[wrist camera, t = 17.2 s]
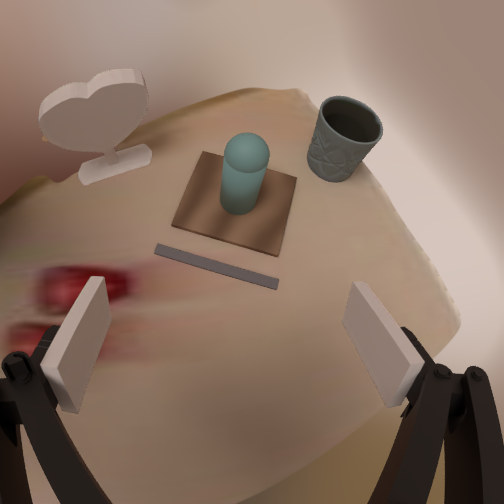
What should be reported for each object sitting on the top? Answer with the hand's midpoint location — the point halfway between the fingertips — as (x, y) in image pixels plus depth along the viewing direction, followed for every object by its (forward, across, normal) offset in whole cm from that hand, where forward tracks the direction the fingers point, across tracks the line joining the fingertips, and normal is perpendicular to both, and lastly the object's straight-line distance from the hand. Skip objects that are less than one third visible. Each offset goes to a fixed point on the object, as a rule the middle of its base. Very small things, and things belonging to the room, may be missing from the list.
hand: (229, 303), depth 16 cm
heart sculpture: (+39, -18, +1) cm, 43 cm away
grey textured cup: (+40, +19, +2) cm, 44 cm away
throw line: (+26, 0, -12) cm, 29 cm away
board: (+34, +3, -4) cm, 34 cm away
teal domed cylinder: (+33, +3, -4) cm, 33 cm away
